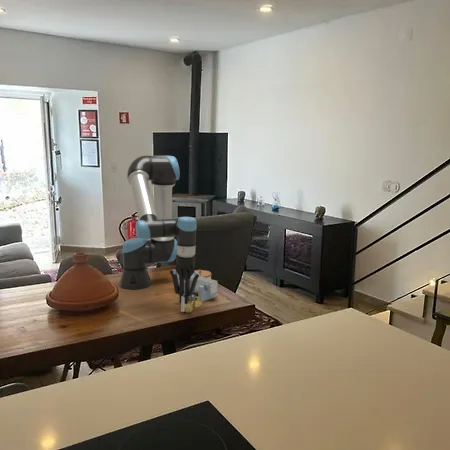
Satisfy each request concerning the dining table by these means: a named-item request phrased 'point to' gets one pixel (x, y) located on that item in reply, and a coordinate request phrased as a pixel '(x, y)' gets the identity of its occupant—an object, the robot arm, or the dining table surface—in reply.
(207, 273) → the lidded jar
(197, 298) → the gold box wrench
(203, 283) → the white t-shaped plate
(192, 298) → the nut base
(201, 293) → the rack
